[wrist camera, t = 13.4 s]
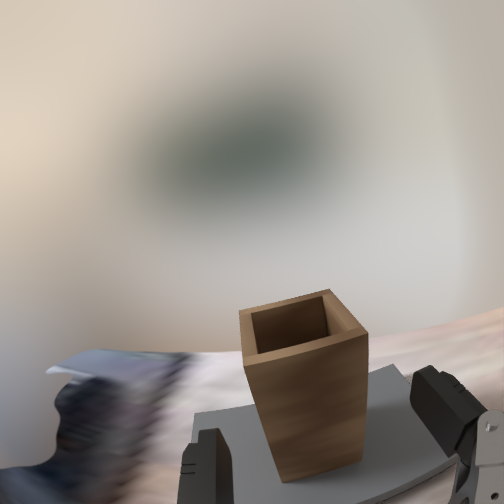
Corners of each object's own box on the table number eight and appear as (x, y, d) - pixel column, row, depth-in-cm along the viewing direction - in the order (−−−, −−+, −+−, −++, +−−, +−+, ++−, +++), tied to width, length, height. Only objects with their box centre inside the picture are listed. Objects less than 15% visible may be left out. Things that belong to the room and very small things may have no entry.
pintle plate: (192, 535, 10) (132, 486, 8) (200, 424, 21) (168, 357, 19) (455, 462, 10) (492, 385, 8) (392, 376, 21) (395, 302, 19)
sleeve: (281, 483, 13) (243, 366, 10) (271, 428, 17) (238, 310, 15) (361, 460, 13) (368, 333, 10) (339, 410, 18) (329, 288, 15)
